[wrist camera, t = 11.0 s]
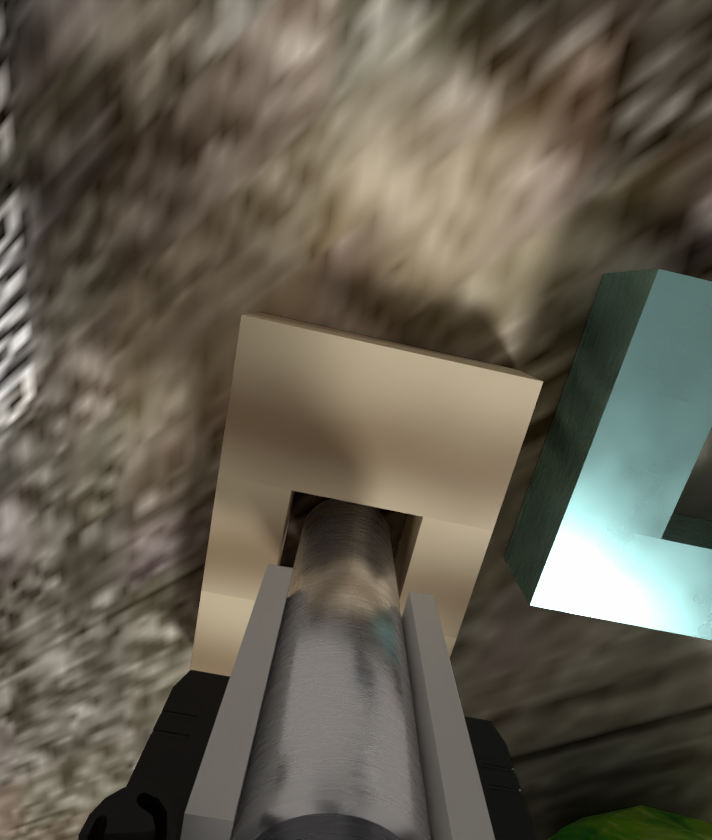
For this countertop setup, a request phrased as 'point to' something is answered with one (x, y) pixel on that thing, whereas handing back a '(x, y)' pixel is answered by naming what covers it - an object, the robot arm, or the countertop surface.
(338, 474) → the wooden square-hole plate
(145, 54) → the countertop surface
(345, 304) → the countertop surface
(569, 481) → the socket
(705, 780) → the countertop surface
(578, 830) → the lettuce
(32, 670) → the countertop surface
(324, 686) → the metal cylinder rod
